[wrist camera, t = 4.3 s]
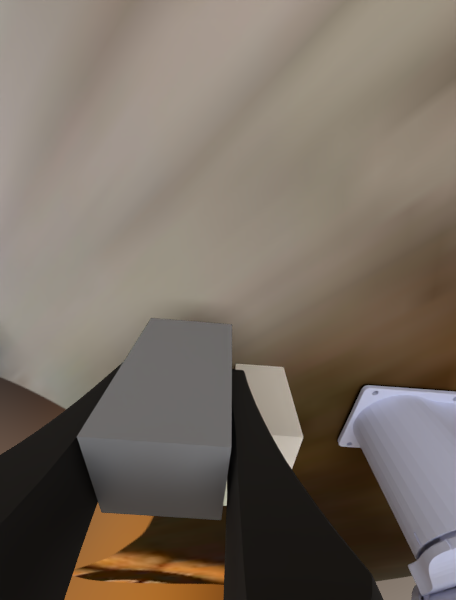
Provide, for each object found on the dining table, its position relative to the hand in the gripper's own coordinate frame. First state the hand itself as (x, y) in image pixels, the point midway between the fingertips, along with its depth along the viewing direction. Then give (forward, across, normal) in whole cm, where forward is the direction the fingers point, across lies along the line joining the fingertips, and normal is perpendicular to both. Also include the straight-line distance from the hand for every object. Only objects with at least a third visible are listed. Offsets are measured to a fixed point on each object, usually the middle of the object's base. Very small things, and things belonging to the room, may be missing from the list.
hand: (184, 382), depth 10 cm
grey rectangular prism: (+2, 0, 0) cm, 2 cm away
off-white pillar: (+7, -5, +7) cm, 11 cm away
